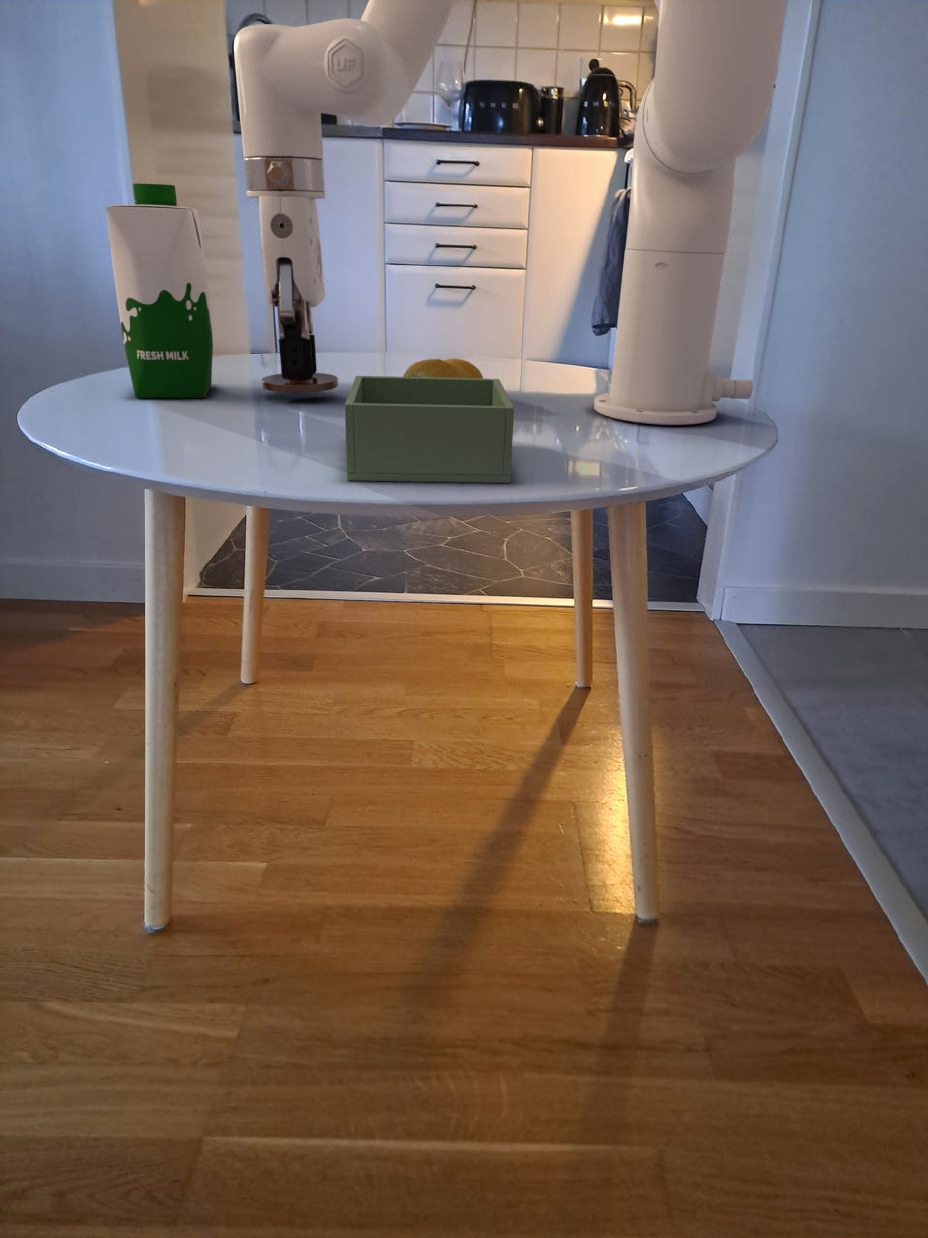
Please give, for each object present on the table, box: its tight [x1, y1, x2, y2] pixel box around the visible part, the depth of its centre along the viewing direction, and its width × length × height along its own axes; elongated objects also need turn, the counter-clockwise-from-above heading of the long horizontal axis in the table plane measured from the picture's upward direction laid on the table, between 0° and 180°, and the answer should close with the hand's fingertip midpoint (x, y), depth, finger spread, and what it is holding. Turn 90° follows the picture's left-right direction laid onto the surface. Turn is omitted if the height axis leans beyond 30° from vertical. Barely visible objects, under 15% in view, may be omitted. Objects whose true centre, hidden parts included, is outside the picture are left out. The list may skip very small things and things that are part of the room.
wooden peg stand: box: [261, 322, 339, 394], centre depth 88 cm, size 8×8×6 cm
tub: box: [344, 375, 515, 484], centre depth 67 cm, size 12×12×6 cm
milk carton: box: [105, 182, 214, 399], centre depth 86 cm, size 9×9×20 cm
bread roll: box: [402, 358, 484, 379], centre depth 93 cm, size 8×9×4 cm
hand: (299, 374), depth 89 cm, fingers closed on wooden peg stand, 2 cm apart
